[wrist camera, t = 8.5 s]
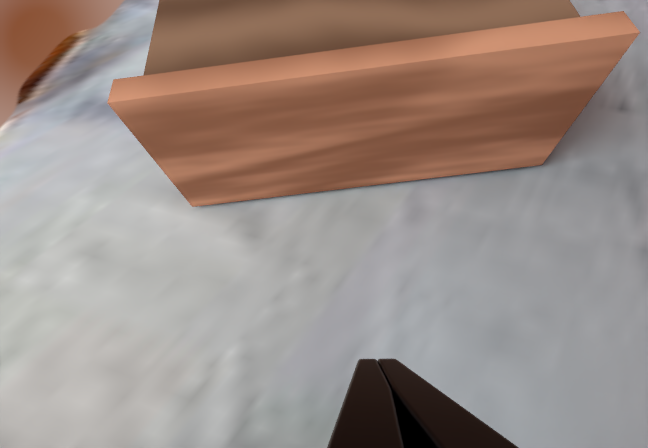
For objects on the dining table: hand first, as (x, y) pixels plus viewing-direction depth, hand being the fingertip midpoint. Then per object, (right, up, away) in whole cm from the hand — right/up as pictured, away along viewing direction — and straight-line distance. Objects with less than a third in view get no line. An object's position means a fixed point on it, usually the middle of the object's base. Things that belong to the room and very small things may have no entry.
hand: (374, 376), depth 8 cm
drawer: (+1, +12, +21) cm, 24 cm away
